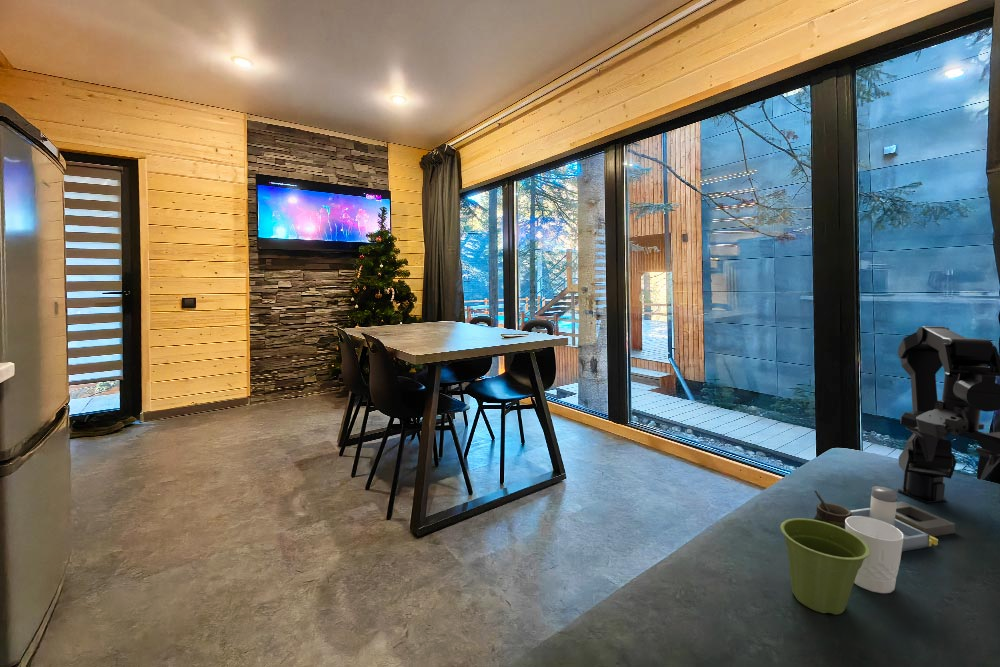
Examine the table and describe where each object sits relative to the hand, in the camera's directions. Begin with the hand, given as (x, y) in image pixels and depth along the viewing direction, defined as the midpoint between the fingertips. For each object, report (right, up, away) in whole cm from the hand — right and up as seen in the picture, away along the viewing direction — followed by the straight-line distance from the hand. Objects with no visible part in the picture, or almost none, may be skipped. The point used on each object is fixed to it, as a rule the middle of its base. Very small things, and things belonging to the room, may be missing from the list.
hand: (953, 469), depth 94 cm
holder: (-6, -13, +3) cm, 14 cm away
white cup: (-31, -15, -16) cm, 38 cm away
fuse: (-17, -13, -1) cm, 21 cm away
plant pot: (-43, -16, -20) cm, 50 cm away
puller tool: (-11, -13, -1) cm, 17 cm away
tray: (-17, -13, -1) cm, 21 cm away
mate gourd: (-30, -14, -5) cm, 34 cm away
